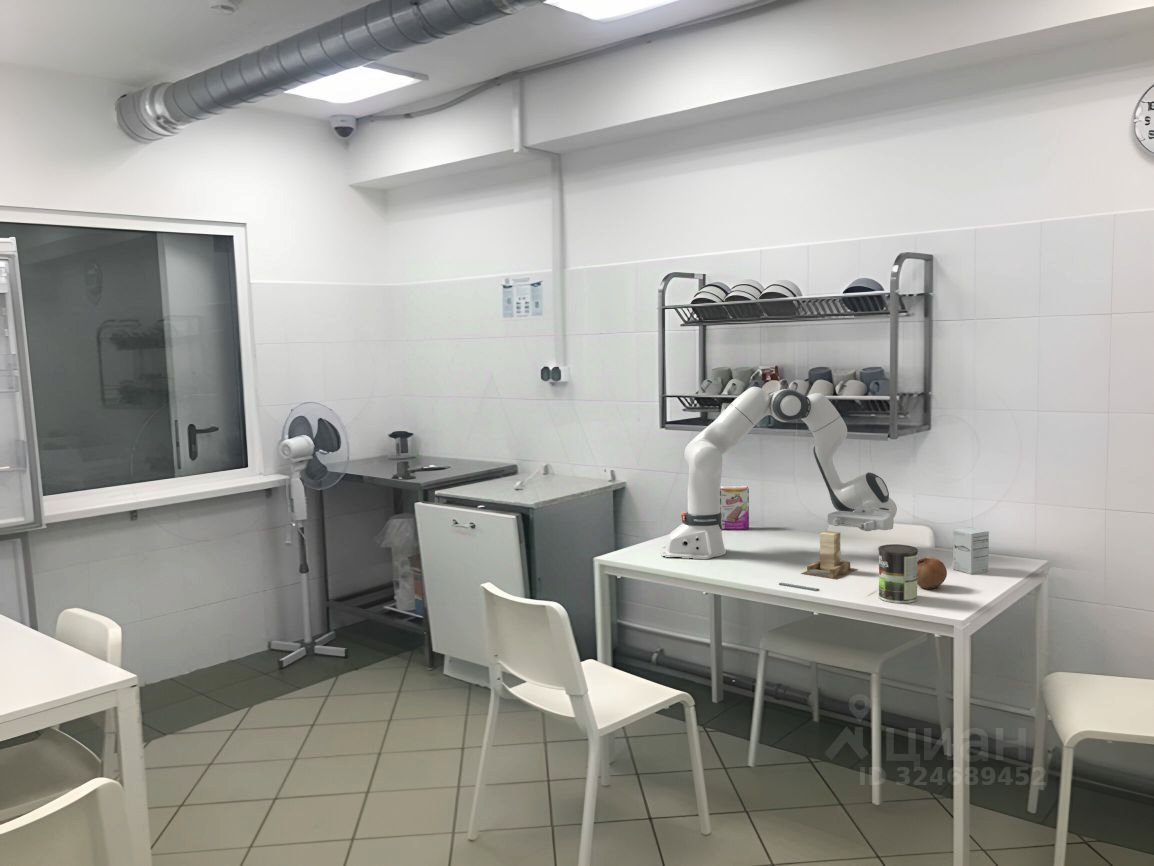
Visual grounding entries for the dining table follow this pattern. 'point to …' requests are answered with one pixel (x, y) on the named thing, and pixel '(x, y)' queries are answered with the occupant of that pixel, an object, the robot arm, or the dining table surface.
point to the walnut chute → (834, 572)
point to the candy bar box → (734, 507)
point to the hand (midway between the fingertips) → (849, 524)
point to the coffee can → (898, 573)
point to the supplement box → (970, 550)
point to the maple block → (829, 550)
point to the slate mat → (799, 586)
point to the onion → (930, 573)
